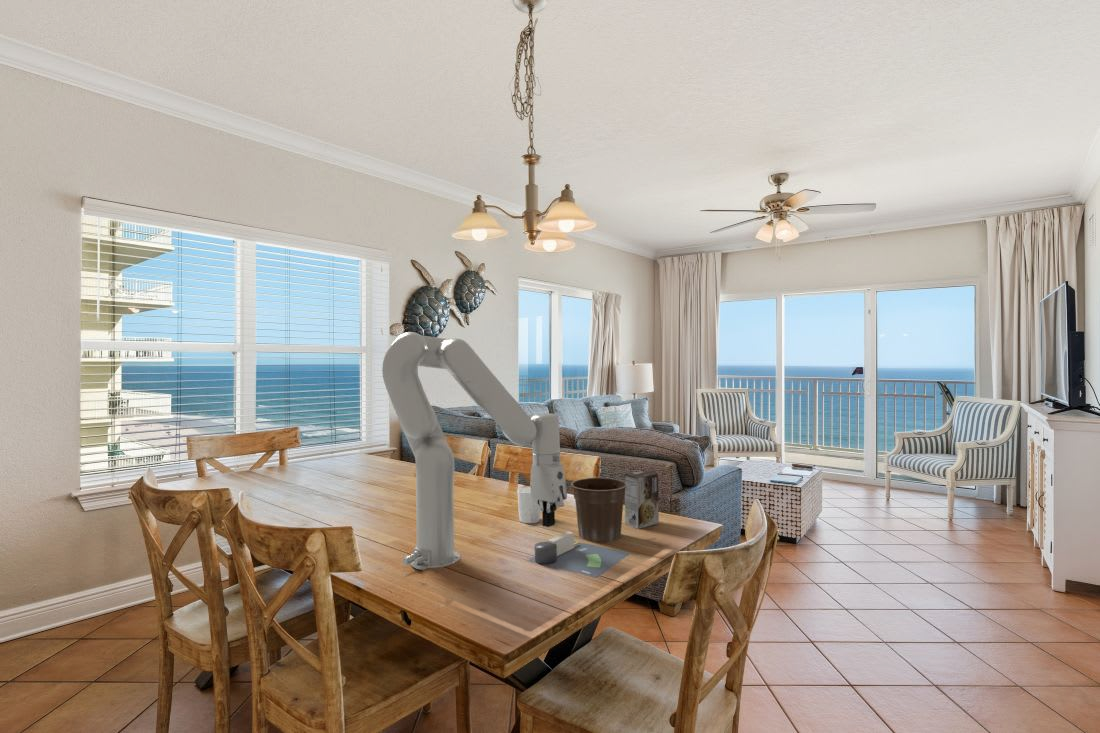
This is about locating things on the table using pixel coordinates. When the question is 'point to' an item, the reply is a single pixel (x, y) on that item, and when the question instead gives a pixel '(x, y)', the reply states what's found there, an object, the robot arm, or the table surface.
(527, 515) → the white cup
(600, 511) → the plant pot
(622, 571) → the table surface
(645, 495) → the coffee box
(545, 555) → the peg dial
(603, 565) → the board
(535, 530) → the table surface
